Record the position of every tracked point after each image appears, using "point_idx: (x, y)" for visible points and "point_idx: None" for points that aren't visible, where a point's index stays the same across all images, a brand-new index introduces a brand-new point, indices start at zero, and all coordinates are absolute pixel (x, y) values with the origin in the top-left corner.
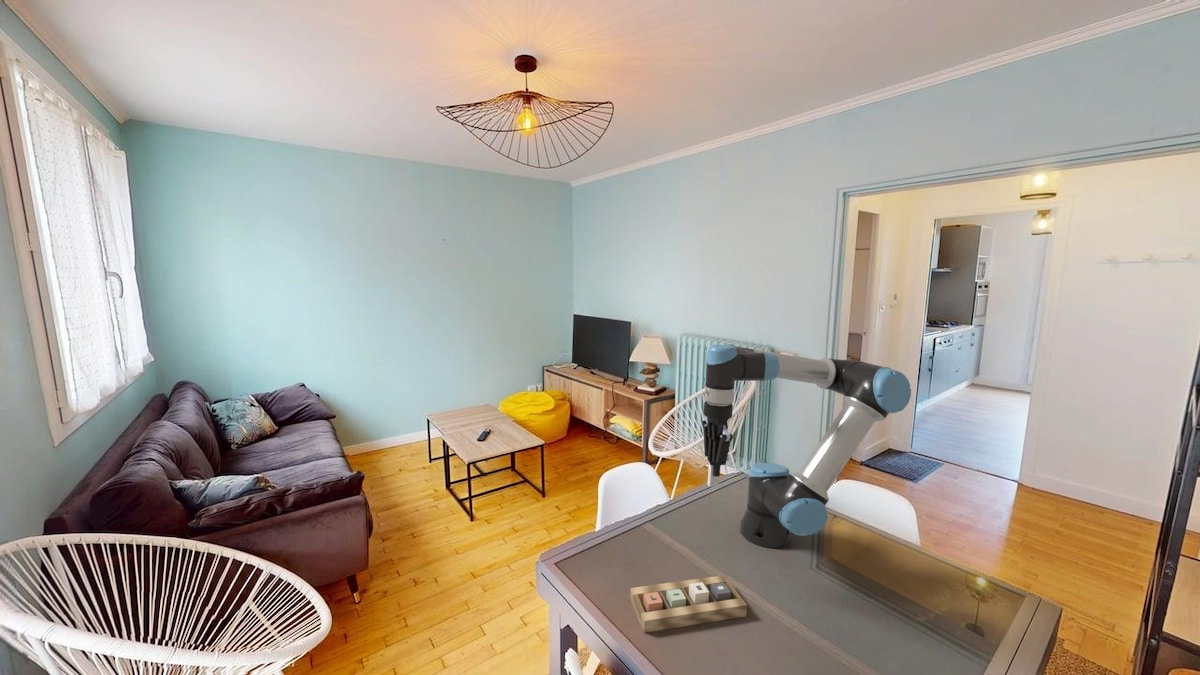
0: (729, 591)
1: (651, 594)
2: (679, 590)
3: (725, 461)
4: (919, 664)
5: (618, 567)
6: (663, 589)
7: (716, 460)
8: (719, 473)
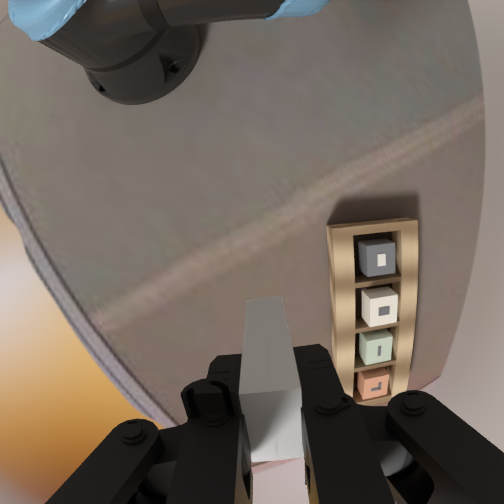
0: (392, 245)
1: (368, 388)
2: (371, 343)
3: (450, 419)
4: (474, 31)
5: None
6: (352, 364)
7: (403, 488)
8: (329, 359)
